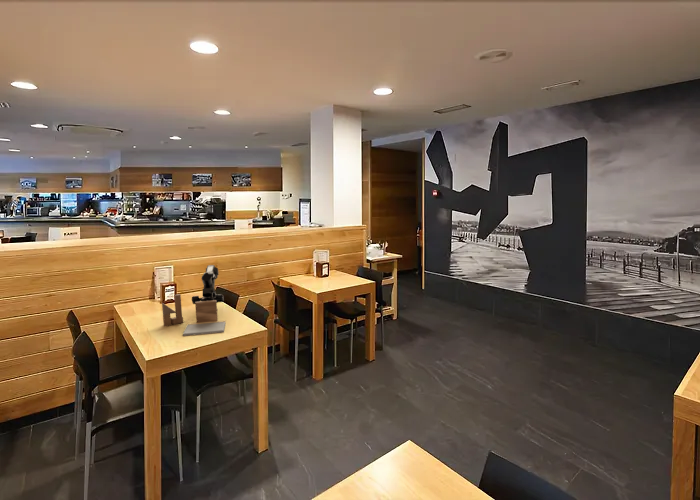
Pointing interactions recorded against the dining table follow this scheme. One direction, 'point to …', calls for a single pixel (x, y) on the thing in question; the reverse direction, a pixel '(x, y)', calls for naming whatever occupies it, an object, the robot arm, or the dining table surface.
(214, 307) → the walnut plank
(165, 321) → the wooden block
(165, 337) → the dining table surface
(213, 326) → the slate floor board
